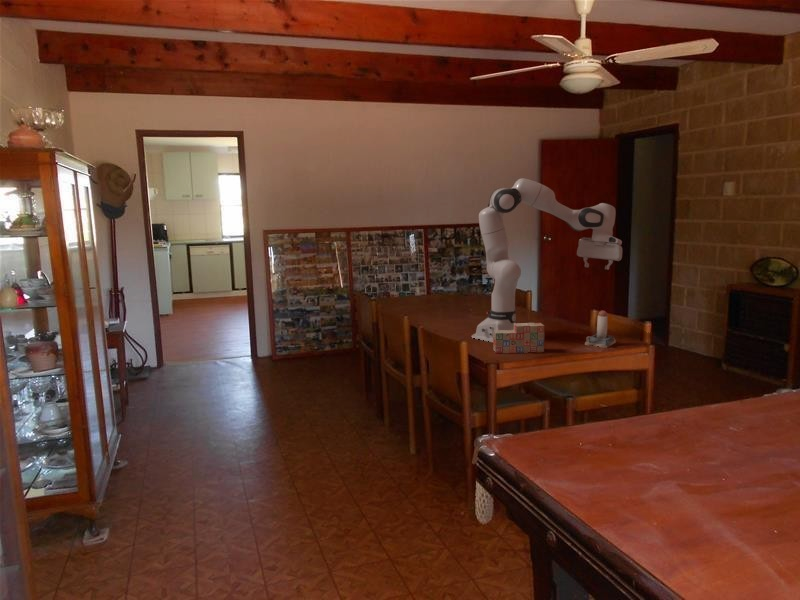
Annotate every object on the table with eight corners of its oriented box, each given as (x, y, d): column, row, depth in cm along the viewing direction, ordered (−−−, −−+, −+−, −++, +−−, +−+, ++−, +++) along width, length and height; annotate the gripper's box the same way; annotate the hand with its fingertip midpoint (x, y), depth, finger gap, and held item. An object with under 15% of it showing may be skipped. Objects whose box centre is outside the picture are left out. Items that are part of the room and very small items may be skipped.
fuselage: (594, 342, 270) (596, 310, 268) (598, 340, 273) (600, 309, 271) (604, 343, 267) (606, 311, 265) (608, 341, 271) (609, 310, 268)
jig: (584, 344, 271) (585, 337, 270) (594, 339, 280) (594, 332, 279) (607, 347, 264) (607, 339, 264) (615, 342, 274) (616, 334, 273)
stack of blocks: (495, 354, 259) (495, 326, 257) (493, 350, 266) (493, 323, 264) (544, 352, 259) (544, 325, 257) (540, 349, 265) (541, 322, 264)
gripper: (577, 235, 278) (572, 264, 279) (621, 239, 267) (616, 270, 267) (581, 237, 284) (576, 266, 284) (625, 241, 272) (620, 271, 272)
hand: (596, 268), depth 275 cm, fingers open, 8 cm apart
